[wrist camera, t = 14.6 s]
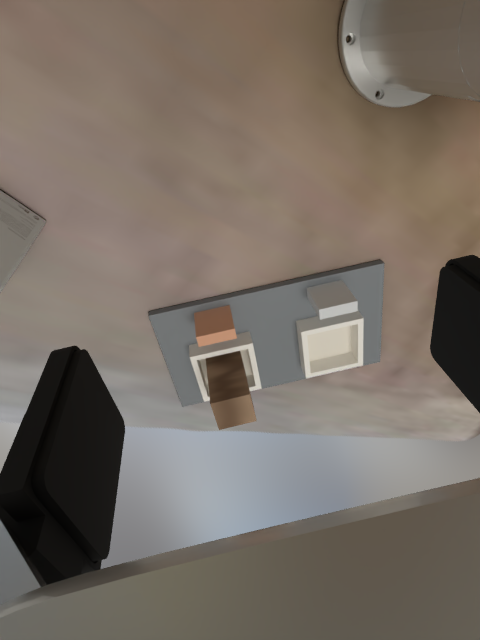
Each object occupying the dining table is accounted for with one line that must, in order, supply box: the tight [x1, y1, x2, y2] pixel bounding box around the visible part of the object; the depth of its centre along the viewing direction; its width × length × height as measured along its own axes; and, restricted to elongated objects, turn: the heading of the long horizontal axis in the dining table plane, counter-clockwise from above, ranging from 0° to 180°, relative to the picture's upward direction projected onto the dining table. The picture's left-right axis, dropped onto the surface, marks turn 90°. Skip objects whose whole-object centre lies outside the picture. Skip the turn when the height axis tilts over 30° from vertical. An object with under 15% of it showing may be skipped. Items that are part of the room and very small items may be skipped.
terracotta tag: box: [194, 305, 237, 347], centre depth 46 cm, size 4×1×5 cm, turn 100°
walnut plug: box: [206, 351, 256, 430], centre depth 49 cm, size 4×4×9 cm
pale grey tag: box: [307, 280, 358, 320], centre depth 46 cm, size 4×1×5 cm, turn 100°
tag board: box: [149, 260, 384, 407], centre depth 51 cm, size 29×16×4 cm, turn 100°
